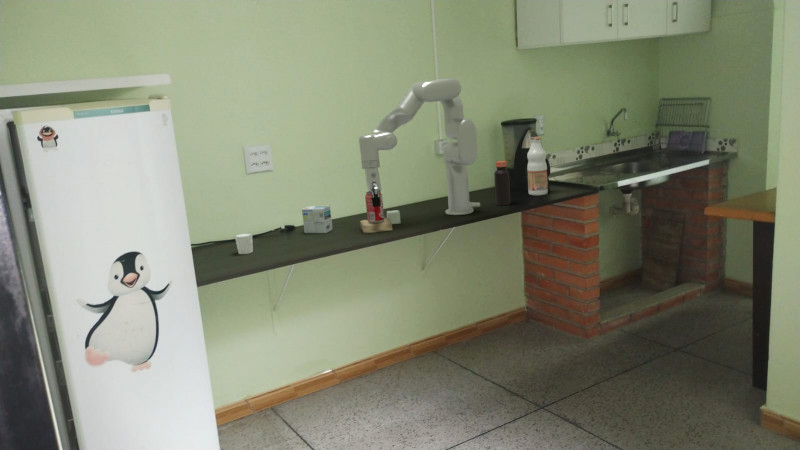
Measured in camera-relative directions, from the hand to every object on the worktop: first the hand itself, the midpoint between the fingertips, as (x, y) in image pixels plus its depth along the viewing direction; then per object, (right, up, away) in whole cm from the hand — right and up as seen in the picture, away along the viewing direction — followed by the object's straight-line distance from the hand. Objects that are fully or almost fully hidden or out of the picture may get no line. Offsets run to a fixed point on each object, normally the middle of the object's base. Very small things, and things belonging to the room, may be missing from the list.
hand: (375, 204), depth 289 cm
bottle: (+59, +1, +31) cm, 66 cm away
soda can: (0, -8, +1) cm, 8 cm away
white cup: (-50, -20, -20) cm, 57 cm away
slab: (0, -10, +2) cm, 11 cm away
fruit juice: (+79, +6, +49) cm, 93 cm away
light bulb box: (-24, -12, +6) cm, 28 cm away
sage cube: (+8, -8, +11) cm, 16 cm away
